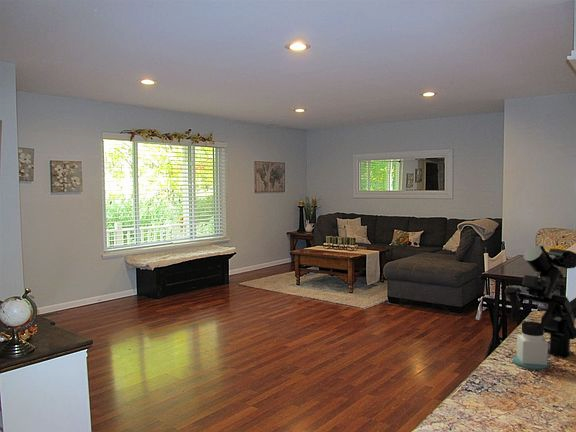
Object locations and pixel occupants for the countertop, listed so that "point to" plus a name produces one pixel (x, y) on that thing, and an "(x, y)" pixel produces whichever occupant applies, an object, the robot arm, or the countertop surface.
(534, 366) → the coaster
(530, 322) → the medicine bottle
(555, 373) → the countertop surface
